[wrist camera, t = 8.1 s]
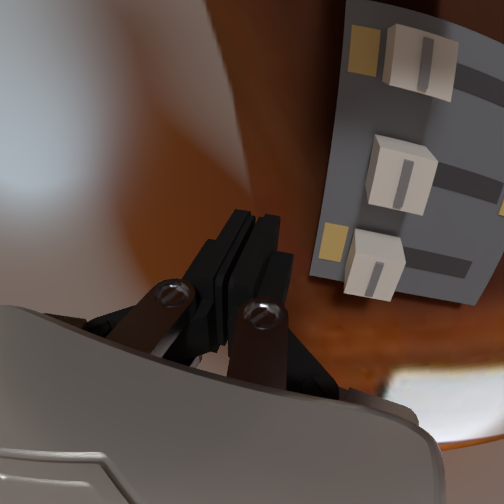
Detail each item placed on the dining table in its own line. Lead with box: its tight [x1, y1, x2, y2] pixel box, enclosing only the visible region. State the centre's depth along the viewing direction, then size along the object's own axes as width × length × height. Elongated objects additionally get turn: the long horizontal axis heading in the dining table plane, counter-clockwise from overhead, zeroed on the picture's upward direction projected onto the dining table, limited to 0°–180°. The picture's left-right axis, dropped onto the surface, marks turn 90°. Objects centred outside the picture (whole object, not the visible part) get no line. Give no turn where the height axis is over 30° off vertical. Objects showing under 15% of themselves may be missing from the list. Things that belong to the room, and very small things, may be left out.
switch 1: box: [382, 24, 459, 102], centre depth 15 cm, size 4×4×4 cm
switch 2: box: [365, 134, 438, 216], centre depth 20 cm, size 4×4×4 cm
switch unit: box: [309, 0, 504, 305], centre depth 22 cm, size 18×24×3 cm
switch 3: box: [344, 228, 406, 301], centre depth 25 cm, size 4×4×4 cm
